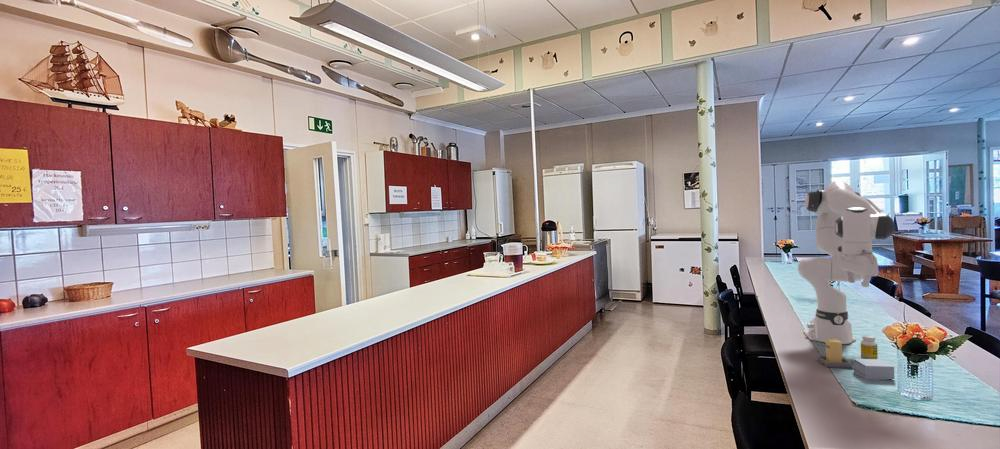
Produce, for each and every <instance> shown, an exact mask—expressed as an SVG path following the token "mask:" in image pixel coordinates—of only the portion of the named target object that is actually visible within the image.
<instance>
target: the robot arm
mask: <svg viewBox="0 0 1000 449" xmlns="http://www.w3.org/2000/svg"><path fill="white" fill-rule="evenodd" d="M804 206H805V208H806V209H807V211H809V212H813V213H819V214H818V215H817V217H816V221H815V245H816V248H817V249H818V251H821V252H822V253H825V254H827V255H829V256H831V257H815V256H814V257H807V258H802V259H801V260H800V261H799V262H798V265H797V271H798V274H799V275H800V277H801V278H802V279H804V280H806V281H807V282H808V283H809V284H810V285H811V287H813V289H814V291H815V295H816V301H817V302H816V305H817V308H816V310H815V316H814V317H813V318H812V319H811V320H810V321H809V322H808V323H807V324H806V325H807V327H806V328H808V329H804V330H803V333H804V334H805V336H807V338H808V339H809V340H810V341H815V342H821V343H825V344H826V339H837V340H839V341H841V342H842V345H848V344H852V343H853V342H856V338H855V337H854V336H853V328H852V323H851V322H850V321H849V313H848V311H847V309H848V308H847V305H848V304H847V295H846V294H845V293H844V292H843V291H842V290H840V289H838V288H836V287H834V286H832V285H830V282H843V283H844V282H846V283H847V282H848V283H856V282H858V281H860V282H861V287H862V288H868V287H869V286H870V281H871V279H872V277H878V275H879V263H878V259H877V257H876V256H875V254H874V252H873V240H886V239H888V238H890V237H892V235H893V234H894V233H895V229H896V226H895V221H894V219H893V218H892V217H891V216H890V215H889V214H886V213H884V211H882V210H881V209H880V208H879V207H878V206H877V205H876V204H875V203H874V202H873V201H871V200H870V199H868V198H866V197H863V196H861V194H860V193H859V192H858V191H854V189H853V188H852V186H851V185H849V183H847V182H845V181H842V180H836V181H832V182H829V184H827V185H826V187H825V189H824V190H820V189H817V190H812V191H811V190H810V192H808V193H807V194H806V195H805V199H804Z"/></svg>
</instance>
